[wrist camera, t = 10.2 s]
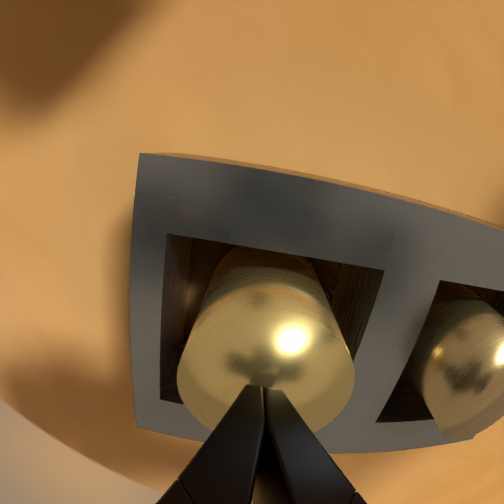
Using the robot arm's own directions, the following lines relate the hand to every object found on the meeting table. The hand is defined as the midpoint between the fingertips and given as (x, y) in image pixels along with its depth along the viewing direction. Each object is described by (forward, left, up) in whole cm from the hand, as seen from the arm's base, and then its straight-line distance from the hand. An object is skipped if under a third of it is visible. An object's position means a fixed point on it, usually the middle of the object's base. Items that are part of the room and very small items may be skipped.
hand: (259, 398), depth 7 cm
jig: (-4, 0, -6) cm, 7 cm away
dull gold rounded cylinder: (-8, 0, -6) cm, 10 cm away
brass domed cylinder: (0, 0, -6) cm, 6 cm away
